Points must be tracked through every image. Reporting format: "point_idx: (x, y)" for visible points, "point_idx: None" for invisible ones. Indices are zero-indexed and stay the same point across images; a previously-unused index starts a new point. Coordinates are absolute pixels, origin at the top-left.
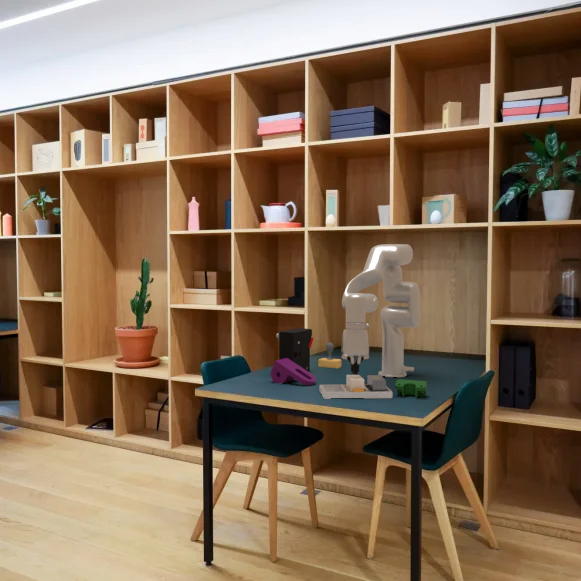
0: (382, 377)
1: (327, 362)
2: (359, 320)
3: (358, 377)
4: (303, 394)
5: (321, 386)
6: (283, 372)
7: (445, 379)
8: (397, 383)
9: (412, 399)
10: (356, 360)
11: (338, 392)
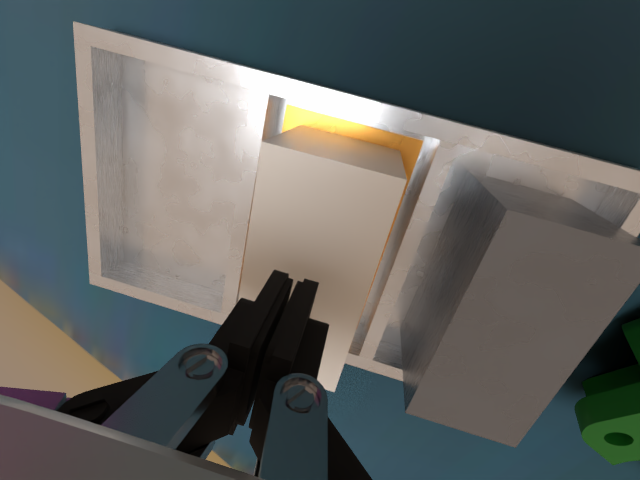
0: (577, 361)
1: None
2: None
3: (330, 301)
4: (7, 109)
5: (86, 100)
6: None
7: None
8: (625, 426)
9: None
10: (269, 421)
11: (172, 308)
